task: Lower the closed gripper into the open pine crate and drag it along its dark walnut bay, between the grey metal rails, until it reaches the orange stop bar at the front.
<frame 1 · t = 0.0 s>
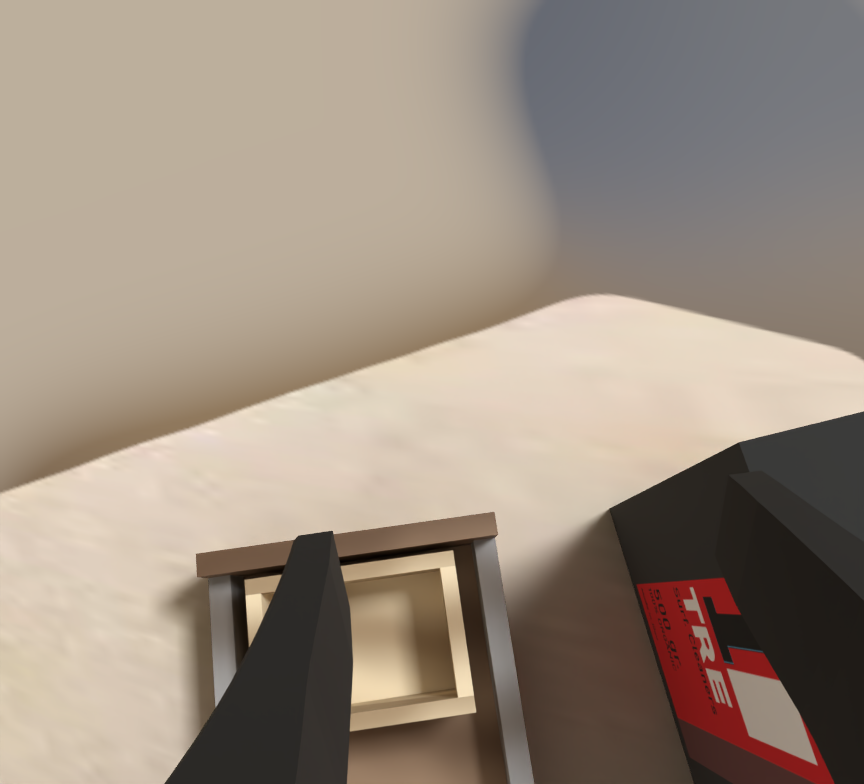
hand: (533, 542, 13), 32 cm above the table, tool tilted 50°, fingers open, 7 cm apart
crate bay: (378, 735, 42), on the table
crate: (362, 641, 40), point 4 cm above the table, slide at 0.0 cm
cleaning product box: (721, 626, 44), on the table
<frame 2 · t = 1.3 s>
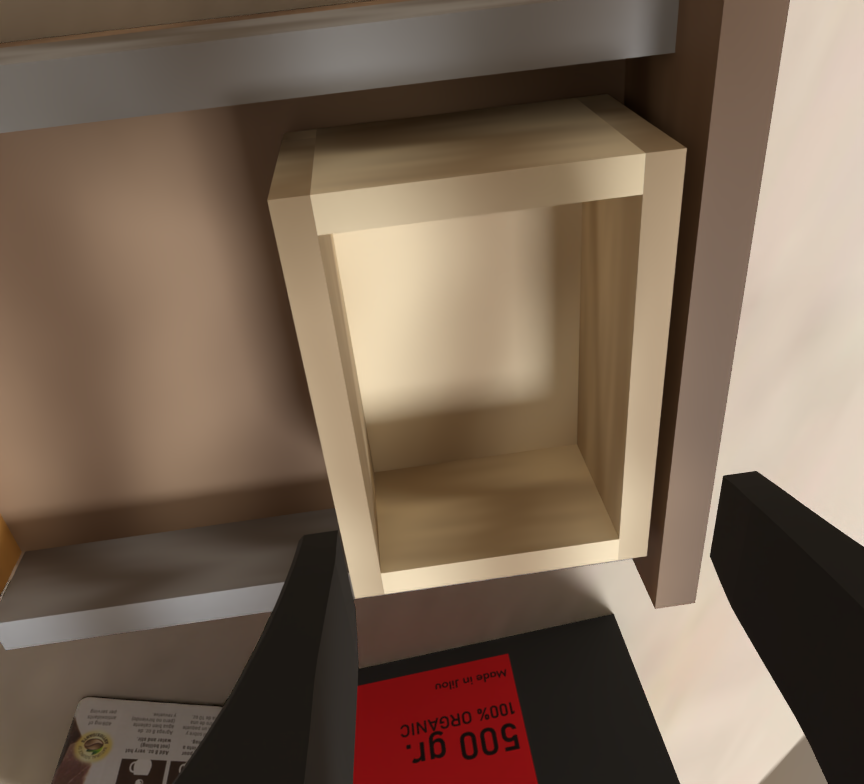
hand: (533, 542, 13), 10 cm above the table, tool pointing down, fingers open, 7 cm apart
coffee box: (150, 756, 33), on the table
crate bay: (280, 317, 22), on the table
crate: (475, 356, 19), point 4 cm above the table, slide at 0.0 cm
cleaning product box: (440, 711, 34), on the table
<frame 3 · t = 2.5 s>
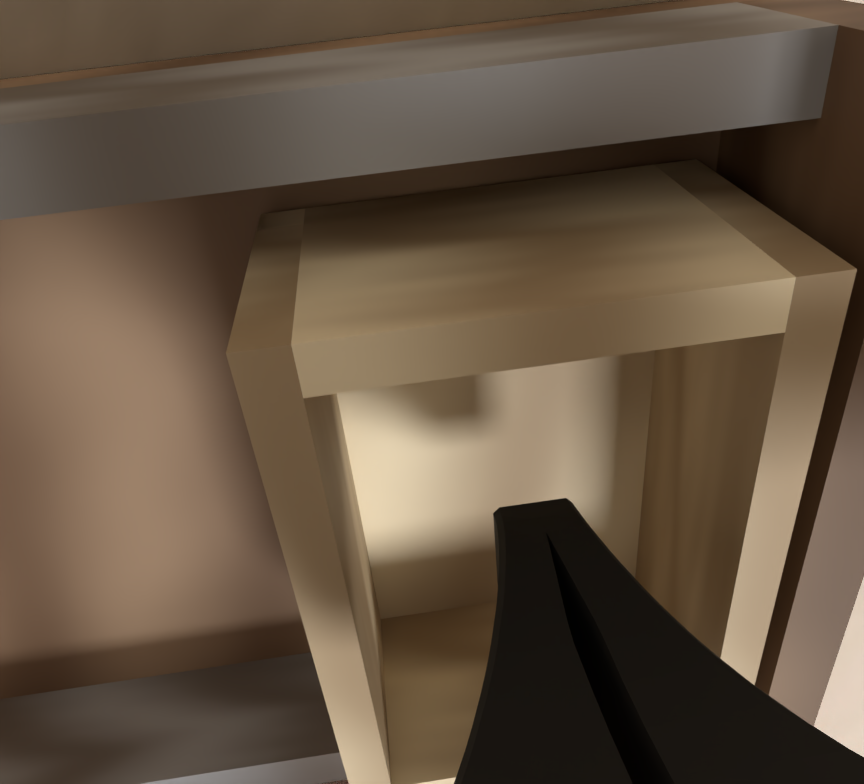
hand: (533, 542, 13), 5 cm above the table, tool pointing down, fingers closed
crate bay: (260, 430, 17), on the table
crate: (517, 504, 14), point 4 cm above the table, slide at 0.0 cm
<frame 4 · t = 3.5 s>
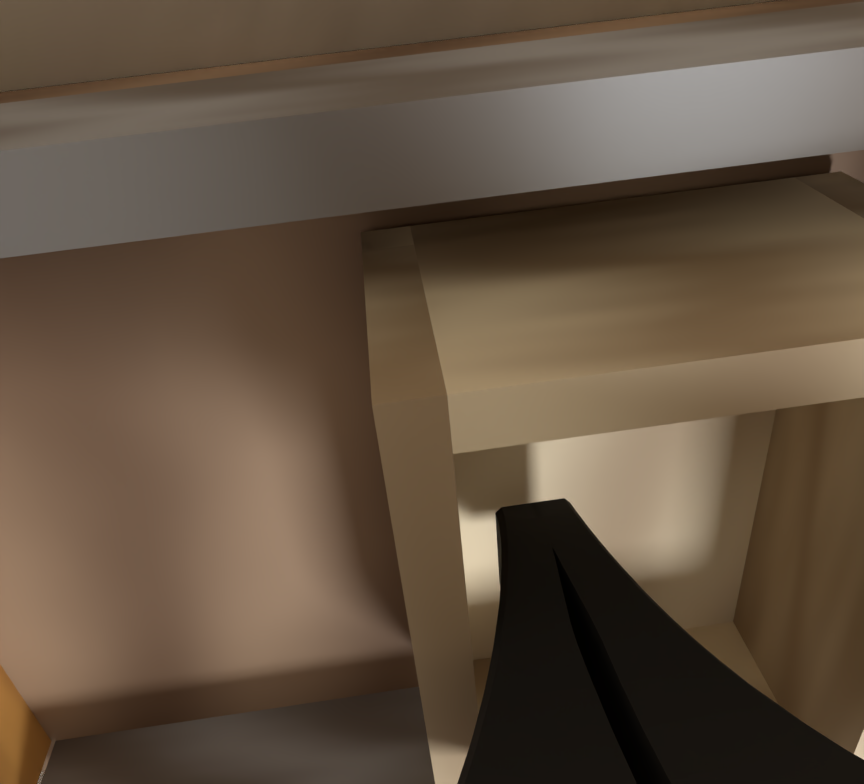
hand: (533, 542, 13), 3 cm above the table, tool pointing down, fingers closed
crate bay: (409, 451, 16), on the table
crate: (634, 550, 13), point 4 cm above the table, slide at 1.6 cm, touching gripper
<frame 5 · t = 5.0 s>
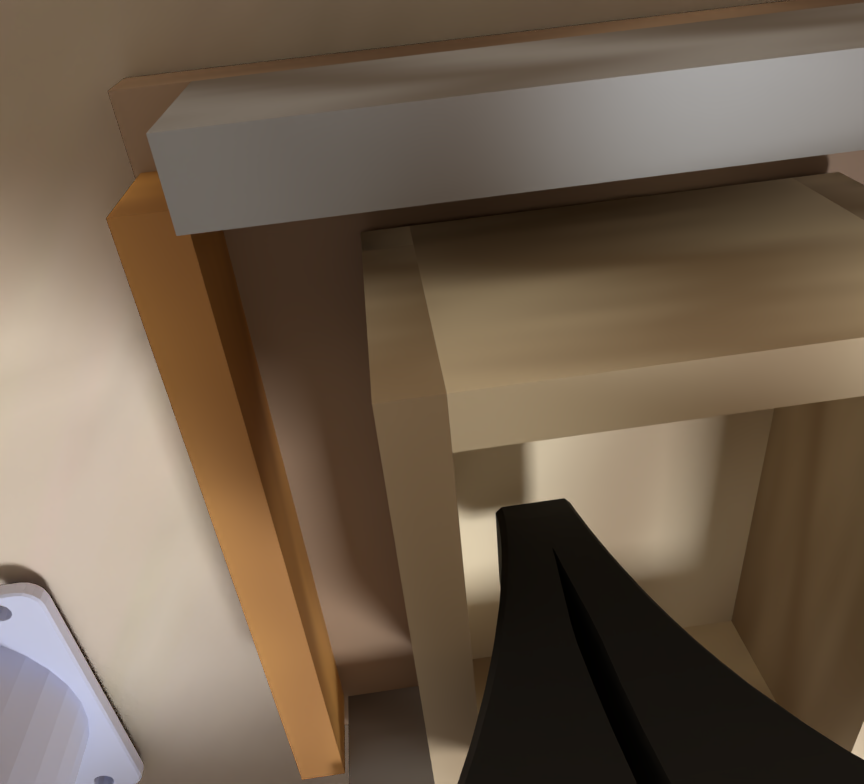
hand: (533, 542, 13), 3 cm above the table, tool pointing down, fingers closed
crate bay: (741, 404, 16), on the table
crate: (633, 549, 13), point 4 cm above the table, slide at 9.0 cm, touching gripper
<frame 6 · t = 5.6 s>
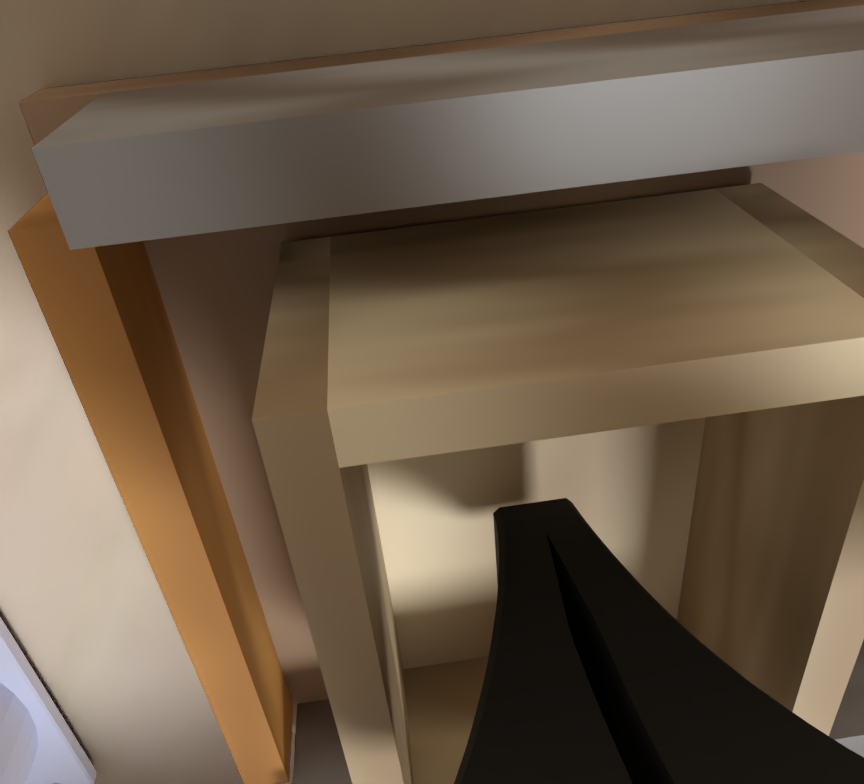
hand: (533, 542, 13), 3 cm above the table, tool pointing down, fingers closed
crate bay: (683, 413, 16), on the table
crate: (560, 559, 13), point 4 cm above the table, slide at 9.0 cm
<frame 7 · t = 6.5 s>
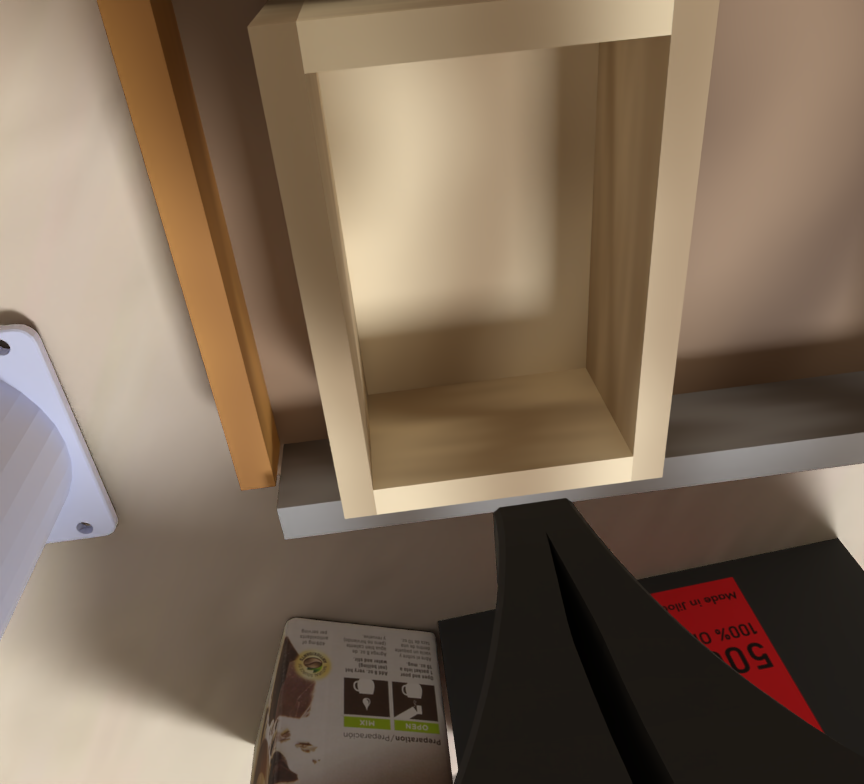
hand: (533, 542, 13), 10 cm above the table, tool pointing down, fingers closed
coffee box: (339, 687, 32), on the table
crate bay: (589, 186, 21), on the table
crate: (479, 252, 17), point 4 cm above the table, slide at 9.0 cm
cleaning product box: (638, 644, 33), on the table
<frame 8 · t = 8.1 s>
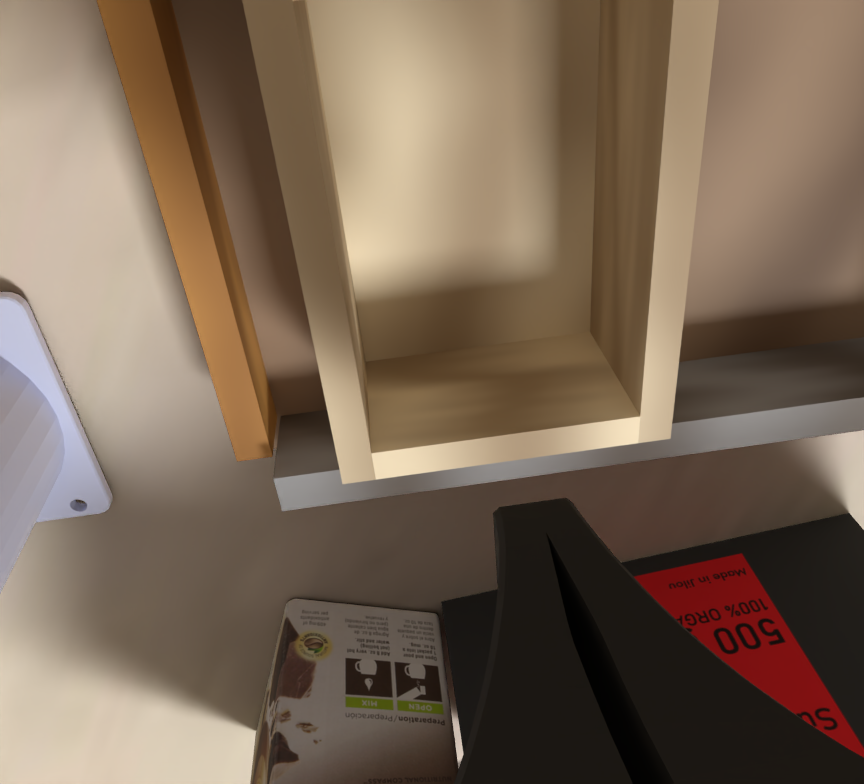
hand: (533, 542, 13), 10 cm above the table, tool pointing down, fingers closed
coffee box: (341, 671, 31), on the table
crate bay: (592, 143, 20), on the table
crate: (478, 205, 17), point 4 cm above the table, slide at 9.0 cm
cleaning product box: (645, 624, 32), on the table
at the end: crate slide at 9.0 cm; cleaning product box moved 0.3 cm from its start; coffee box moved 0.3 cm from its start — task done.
